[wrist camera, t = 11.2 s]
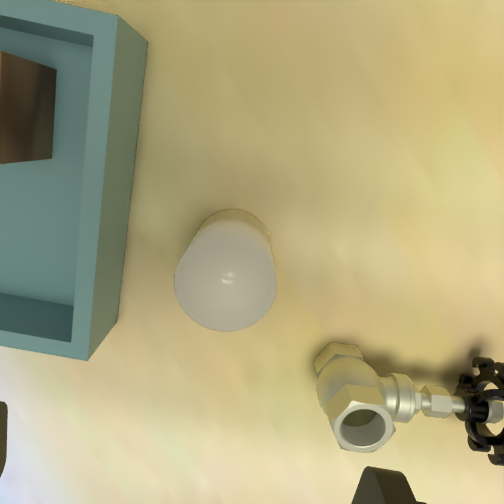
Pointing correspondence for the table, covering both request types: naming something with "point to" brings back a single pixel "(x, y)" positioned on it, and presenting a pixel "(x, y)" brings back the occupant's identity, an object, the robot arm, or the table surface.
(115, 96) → the tote
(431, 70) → the table surface
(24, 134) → the walnut cube
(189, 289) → the ceramic capsule
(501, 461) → the valve
